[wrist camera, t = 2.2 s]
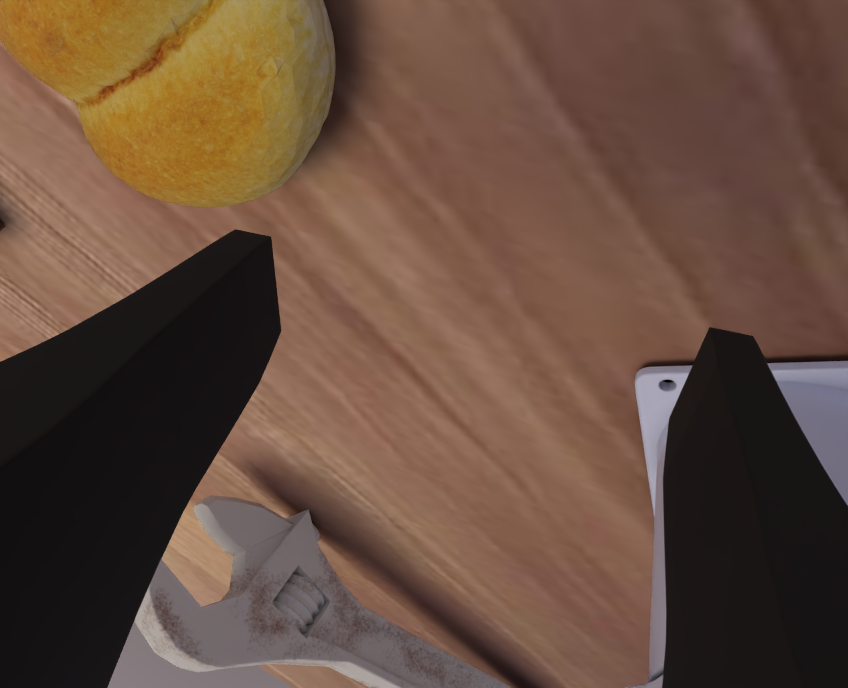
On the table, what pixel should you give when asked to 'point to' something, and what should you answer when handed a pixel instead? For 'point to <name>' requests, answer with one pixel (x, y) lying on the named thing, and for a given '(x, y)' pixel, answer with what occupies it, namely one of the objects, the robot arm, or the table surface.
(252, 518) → the wrench
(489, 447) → the table surface
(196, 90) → the bread roll
